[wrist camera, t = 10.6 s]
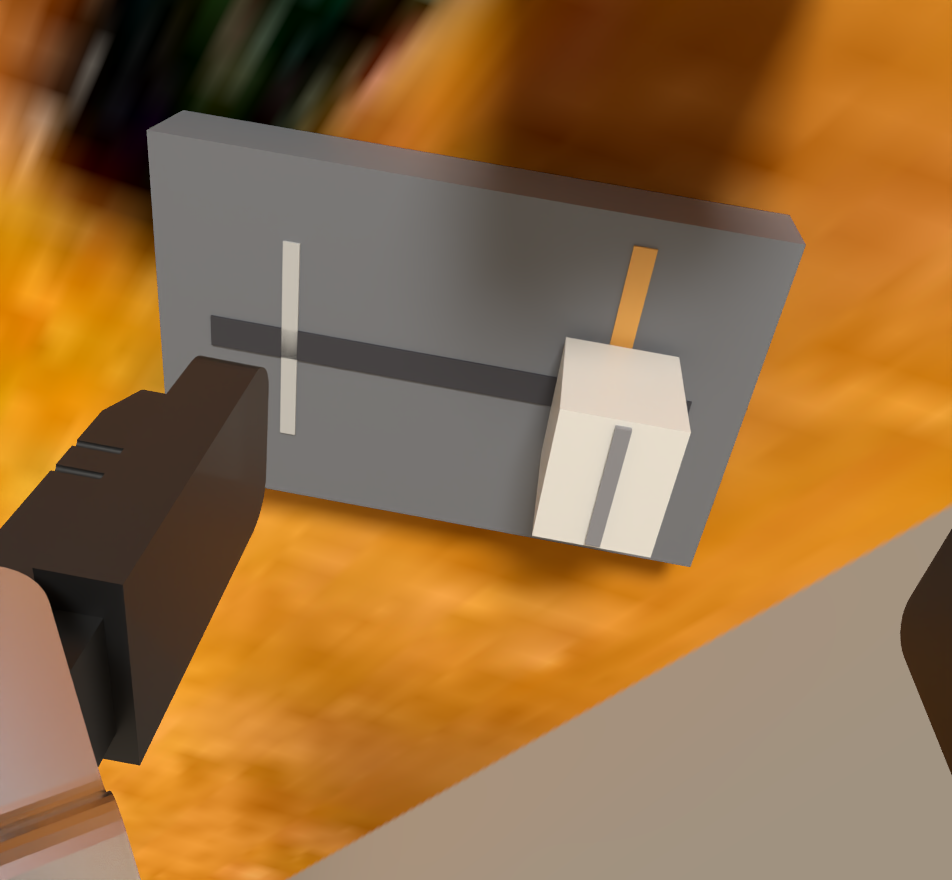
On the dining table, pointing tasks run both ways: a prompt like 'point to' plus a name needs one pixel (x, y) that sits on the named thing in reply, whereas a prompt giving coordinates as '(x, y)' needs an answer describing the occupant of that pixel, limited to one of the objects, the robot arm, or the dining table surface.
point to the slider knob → (611, 447)
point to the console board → (449, 311)
